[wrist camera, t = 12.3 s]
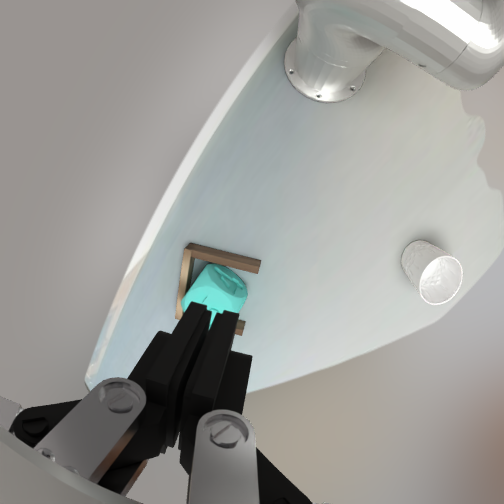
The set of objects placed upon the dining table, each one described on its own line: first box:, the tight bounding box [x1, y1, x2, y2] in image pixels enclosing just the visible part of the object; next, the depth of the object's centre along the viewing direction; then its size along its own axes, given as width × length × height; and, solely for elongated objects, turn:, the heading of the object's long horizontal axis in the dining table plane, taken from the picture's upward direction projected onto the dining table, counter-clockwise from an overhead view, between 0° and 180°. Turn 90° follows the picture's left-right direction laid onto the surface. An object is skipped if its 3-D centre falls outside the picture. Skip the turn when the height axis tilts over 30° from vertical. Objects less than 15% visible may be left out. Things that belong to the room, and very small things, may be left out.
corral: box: [175, 243, 261, 336], centre depth 51 cm, size 13×12×3 cm
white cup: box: [401, 240, 463, 305], centre depth 43 cm, size 8×8×10 cm
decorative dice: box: [181, 264, 248, 329], centre depth 49 cm, size 8×8×8 cm
